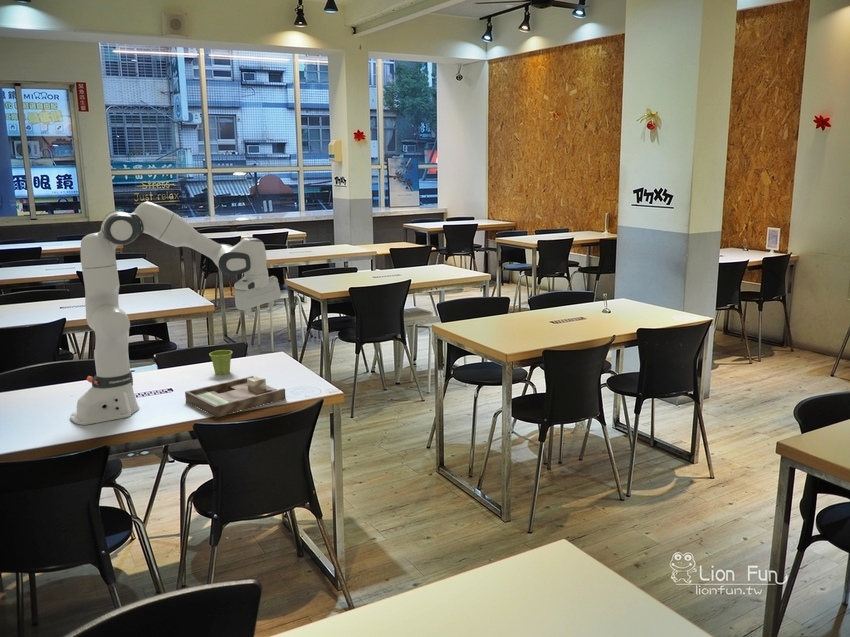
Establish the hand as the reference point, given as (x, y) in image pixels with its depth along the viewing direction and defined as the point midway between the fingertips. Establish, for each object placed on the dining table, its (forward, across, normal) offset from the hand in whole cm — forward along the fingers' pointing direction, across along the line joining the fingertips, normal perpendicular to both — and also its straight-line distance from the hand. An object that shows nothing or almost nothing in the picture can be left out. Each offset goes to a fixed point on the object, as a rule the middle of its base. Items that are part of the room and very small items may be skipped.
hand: (260, 315), depth 277 cm
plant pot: (+31, -4, -32) cm, 44 cm away
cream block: (+26, +9, +4) cm, 28 cm away
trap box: (+28, +18, +2) cm, 33 cm away
